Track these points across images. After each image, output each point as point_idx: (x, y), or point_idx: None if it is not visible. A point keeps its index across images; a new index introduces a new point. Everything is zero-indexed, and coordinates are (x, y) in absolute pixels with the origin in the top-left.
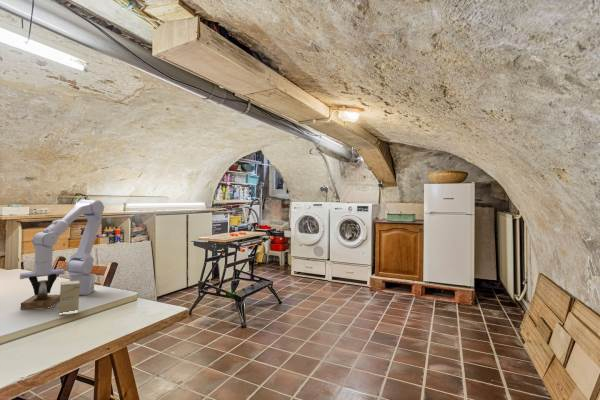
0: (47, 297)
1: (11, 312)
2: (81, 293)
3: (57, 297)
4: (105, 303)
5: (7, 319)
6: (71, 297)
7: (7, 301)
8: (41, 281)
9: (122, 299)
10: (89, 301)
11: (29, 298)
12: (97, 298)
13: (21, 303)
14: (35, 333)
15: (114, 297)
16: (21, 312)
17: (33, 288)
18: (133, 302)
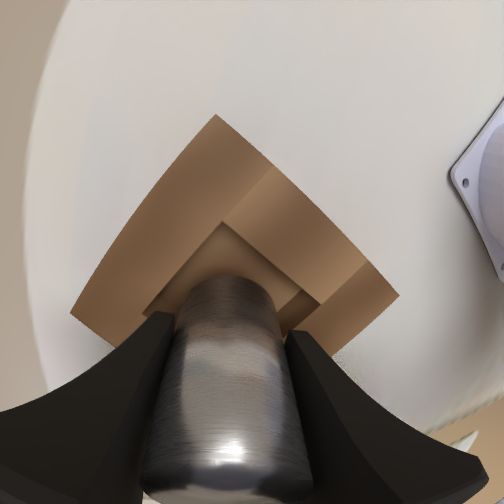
0: (291, 275)
1: (51, 304)
2: (500, 244)
3: (336, 348)
4: (422, 432)
5: (52, 385)
6: None
7: (77, 2)
8: (205, 496)
9: (473, 413)
10: (425, 387)
11: (138, 220)
12: (469, 362)
13: (75, 314)
14: (143, 498)
15: (489, 382)
16: (95, 345)
17: (120, 354)
18: (452, 447)
